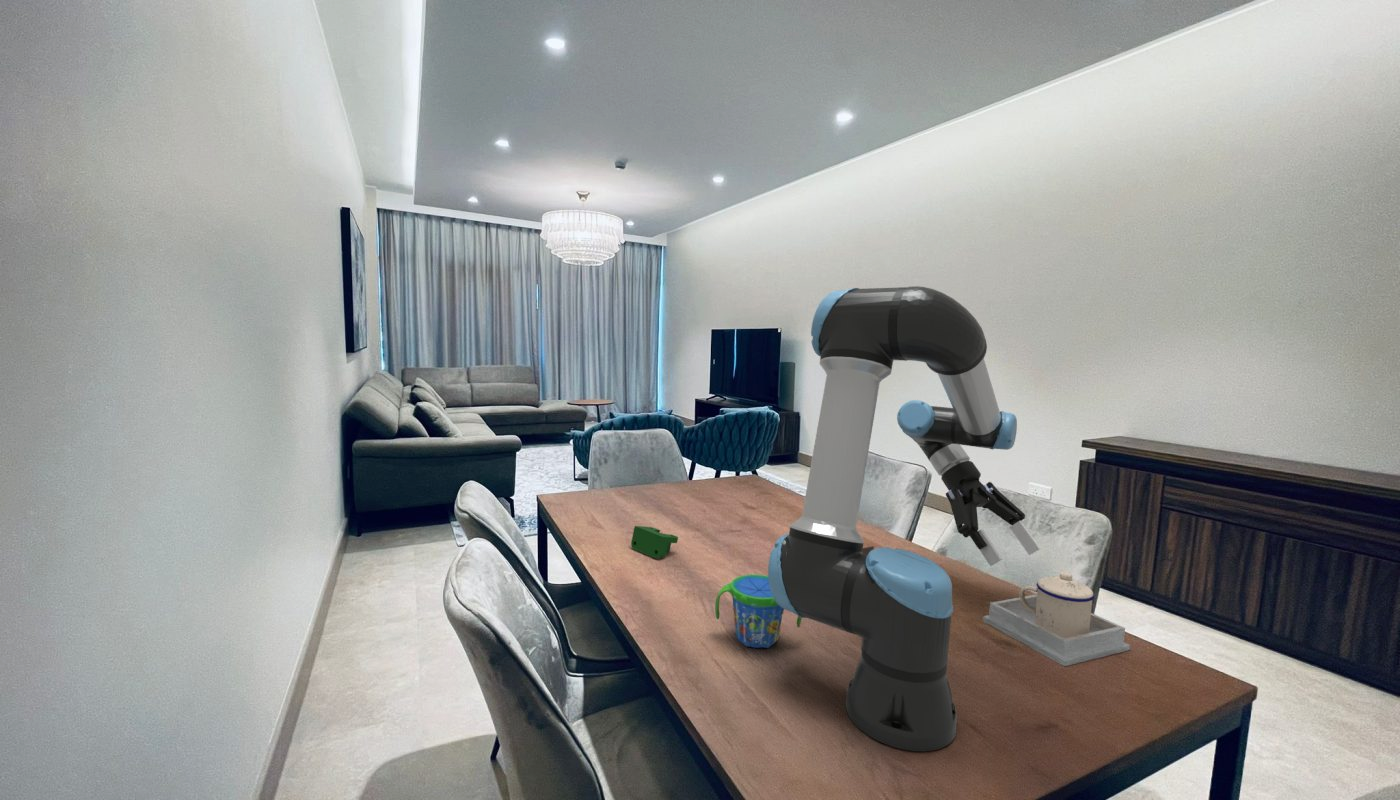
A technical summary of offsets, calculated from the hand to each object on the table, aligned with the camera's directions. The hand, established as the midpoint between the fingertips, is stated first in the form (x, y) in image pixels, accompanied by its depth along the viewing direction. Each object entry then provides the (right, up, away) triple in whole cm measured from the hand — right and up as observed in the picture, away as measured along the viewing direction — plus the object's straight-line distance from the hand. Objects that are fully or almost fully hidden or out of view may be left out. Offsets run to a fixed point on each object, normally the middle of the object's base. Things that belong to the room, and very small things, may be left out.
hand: (1016, 557), depth 114 cm
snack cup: (-53, -12, -11) cm, 56 cm away
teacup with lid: (+3, -12, -6) cm, 14 cm away
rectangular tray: (+4, -13, -6) cm, 15 cm away
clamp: (-75, -7, +31) cm, 82 cm away
